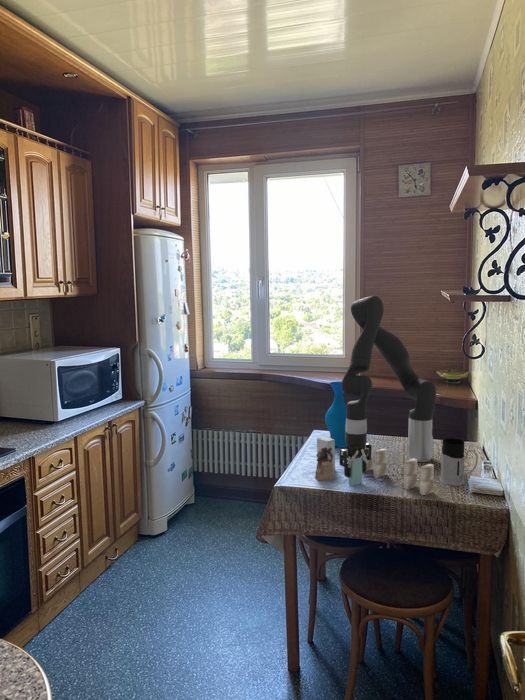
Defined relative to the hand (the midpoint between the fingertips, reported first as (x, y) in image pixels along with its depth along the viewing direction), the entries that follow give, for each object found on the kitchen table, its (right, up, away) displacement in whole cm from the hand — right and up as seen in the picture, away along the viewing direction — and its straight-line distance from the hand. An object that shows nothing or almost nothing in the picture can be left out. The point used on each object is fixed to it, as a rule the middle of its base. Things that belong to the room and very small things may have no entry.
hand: (355, 474), depth 191 cm
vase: (0, +2, +46) cm, 46 cm away
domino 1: (0, -3, 0) cm, 3 cm away
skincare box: (-9, -2, +16) cm, 18 cm away
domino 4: (+19, -4, -3) cm, 20 cm away
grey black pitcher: (+37, -3, 0) cm, 37 cm away
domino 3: (+11, -2, +8) cm, 14 cm away
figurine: (-10, -3, +6) cm, 13 cm away
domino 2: (+7, -2, +14) cm, 15 cm away
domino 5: (+23, -4, -9) cm, 25 cm away
